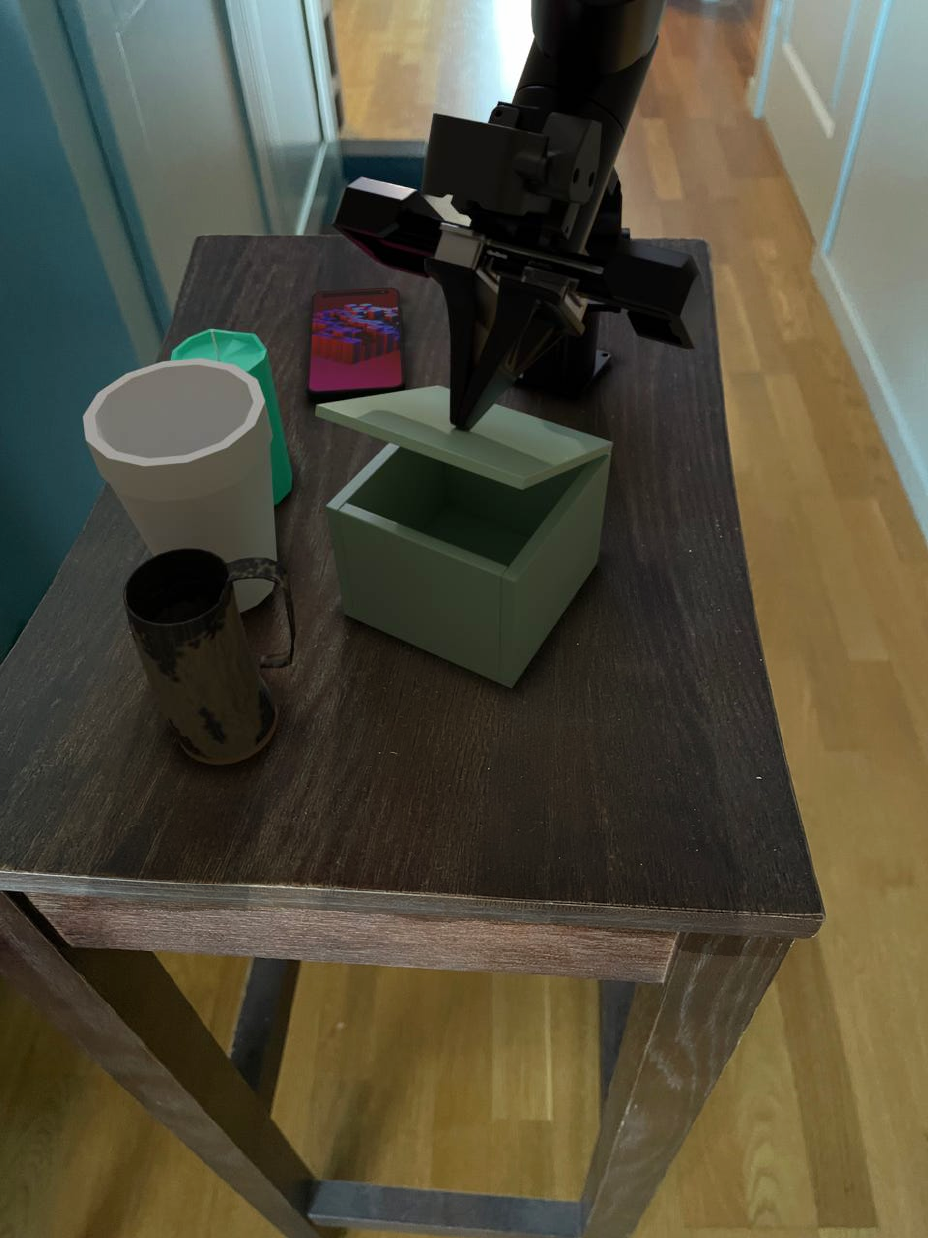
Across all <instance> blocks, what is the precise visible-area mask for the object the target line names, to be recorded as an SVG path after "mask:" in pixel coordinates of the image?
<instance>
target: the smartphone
mask: <svg viewBox="0 0 928 1238" xmlns="http://www.w3.org/2000/svg"><path fill="white" fill-rule="evenodd" d="M402 313H403V311H402V306H401V293H400V290H398V288H396V287H391V286H388V287H372V288H371V287H369V288H355V289H354V288H353V289H336V290H321V291H316V292H314V293H313V294H312V296H311V301H310V314H309V325H308V326H309V327H308V328H309V329H308V336H309V337H308V338H309V339H308V351H307V353H308V355H307V371H306V389H305V390H306V394H307V396H308V397H309V399H311V400H315V401H324V400H341V399H342V400H343V399H356V398H362V397H368V396H374V395H381V394H387V393H393V392H400V391H406V373H405V372H406V371H405V358H404V357H405V356H404V333H403V325H402Z"/></svg>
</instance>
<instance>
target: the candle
mask: <svg viewBox="0 0 928 1238" xmlns="http://www.w3.org/2000/svg"><path fill="white" fill-rule="evenodd" d="M199 358H202V359H207V360H213V361H218V362H223V363H228V364H234V365H236V366H237V367H239V368H240V369H242V370H243V371H245V372H247V373H248V374H250V375H251V376H253V377H254V378H256V379H257V380H258V383H259V385H260V388H261V391H262V394H263V397H264V399H265V403H266V408H267V412H268V417H269V421H270V426H271V430H272V435H273V438H272V440H271V443H270V456H271V472H272V488H273V504H274V506H276V505H278V504H280V503H281V501H282V500H284V498H285V497H287V495H288V494H290V492H291V491H292V485H293V484H292V483H293V471H292V466H291V462H290V461H291V460H290V455H289V452H288V451H289V450H288V446H287V442H286V437H285V432H284V427H283V422H282V417H281V413H280V407H279V403H278V398H277V393H276V388H275V383H274V378H273V374H272V369H271V362H270V360H269V359H270V358H269V353H268V349H267V348H266V347H265V345H264V344H263V342H262V341H261V339H260V338H259V337H258V335H257V334H256V333H250V332H241V331H232V330H231V331H230V330H225V329H217V328H209V329H205V330H204V331H201V332H198V333H196V334H194V335H191V336H188V337H187V338H186V339H185V340H183V341H182V342H181V343H180V344H178V346H176V347H175V348H174V349H172V350H171V356H170V360H169V361H175V360H187V359H199Z"/></svg>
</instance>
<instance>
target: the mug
mask: <svg viewBox="0 0 928 1238" xmlns="http://www.w3.org/2000/svg"><path fill="white" fill-rule="evenodd" d="M242 579H265V580H268V581H272V582H274V583H275V584H274V585H276V586H277V587H278V588H279V589H281V590H282V595H283V600H284V605H285V611H286V615H287V621H288V625H289V634H290V647H289V650H287V651H285V652H283V653H274V654H273V653H272V654H261V656H260V662H259V668H258V665H257V663H256V660H255V657H254V655H253V652H252V649H251V647H250V644H249V642H248V637H247V635H246V632H245V628H244V624H243V621H242V618H241V613H239V610H238V607H237V603H236V597H235V591H234V585H233V582H234V581H237V580H242ZM126 580H127V581H126V583H125V584H124V587H123V594H122V595H123V596H122V599H123V604H124V609H125V612H126V617H127V621H128V625H129V629H130V633H131V636H132V639H133V642H134V645H135V647H136V650H137V653H138V656H139V659H140V661H141V664H142V668H143V670H144V673H145V675H146V678H147V681H148V683H149V685H150V688H151V690H152V692H153V694H154V696H155V698H156V700H157V702H158V705H159V707H160V710H161V712H162V713H163V716H164V718H165V719H166V720H167V723H168V724H169V726H170V728H171V729H172V731H173V732H174V734H175V736H176V737H177V740H178V742H179V744H180V746H181V749H183V751H184V752H185V753H186V754H187V755H188V756H189V757H191V758H193V759H194V760H195V761H197V762H201V763H203V764H206V765H207V764H208V765H214V766H224V765H225V766H226V765H232V764H236V763H239V762H241V761H245V760H246V759H249V758H251V757H252V756H254V755H255V754H257V753H258V752H260V751H261V750H262V749H263V748H264V747H265V746H266V745H267V744H268V743H269V742H270V740H271V738H272V737H273V736H274V733H275V731H276V729H277V726H278V721H279V715H278V713H279V712H278V707H277V705H276V702H275V700H274V698H273V695H272V693H271V692H270V689H269V687H268V686H267V684H266V682H265V680H264V679H263V676H262V675H261V673H260V670H259V669H283V668H286V667H288V666H290V665H292V664H293V660H294V653H295V641H296V635H297V631H296V620H295V618H296V617H295V609H294V603H293V598H292V591H291V586H290V579H289V574H288V571H287V569H286V568H285V566H283V565H282V564H281V563H280V562H279V561H278V560H277V561H274V560H271V559H268V558H254V557H253V558H243V559H239V560H236V561H233V562H229V563H226V562H225V561H224V560H223V559H222V558H221V557H220V556H218V555H216V554H214V553H212V552H210V551H206V550H202V549H193V548H184V549H176V550H171V551H168V552H164V553H161V554H158V555H156V556H155V557H153V556H152V557H151V558H149V559H147V560H145V561H144V562H143V563H141V564H139V566H138V567H136V568H135V569H134V571H133V572H132V573H131V574H130V576H128V578H127V579H126Z"/></svg>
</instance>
